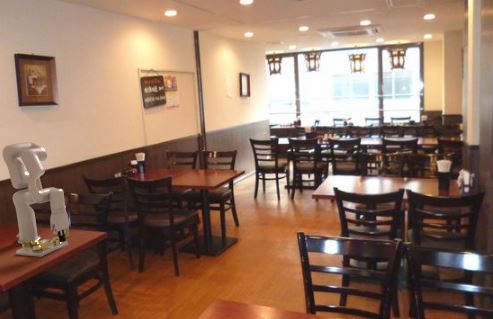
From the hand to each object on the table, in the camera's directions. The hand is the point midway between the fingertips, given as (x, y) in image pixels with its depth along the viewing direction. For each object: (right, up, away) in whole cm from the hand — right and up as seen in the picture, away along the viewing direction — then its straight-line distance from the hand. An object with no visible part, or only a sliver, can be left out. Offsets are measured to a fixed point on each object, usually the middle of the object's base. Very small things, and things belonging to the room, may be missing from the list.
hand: (62, 241), depth 252 cm
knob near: (-17, -2, -2) cm, 18 cm away
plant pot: (-7, -1, +18) cm, 20 cm away
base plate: (-11, -4, -2) cm, 12 cm away
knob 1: (-8, -2, -8) cm, 11 cm away
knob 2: (-3, -1, +1) cm, 3 cm away
